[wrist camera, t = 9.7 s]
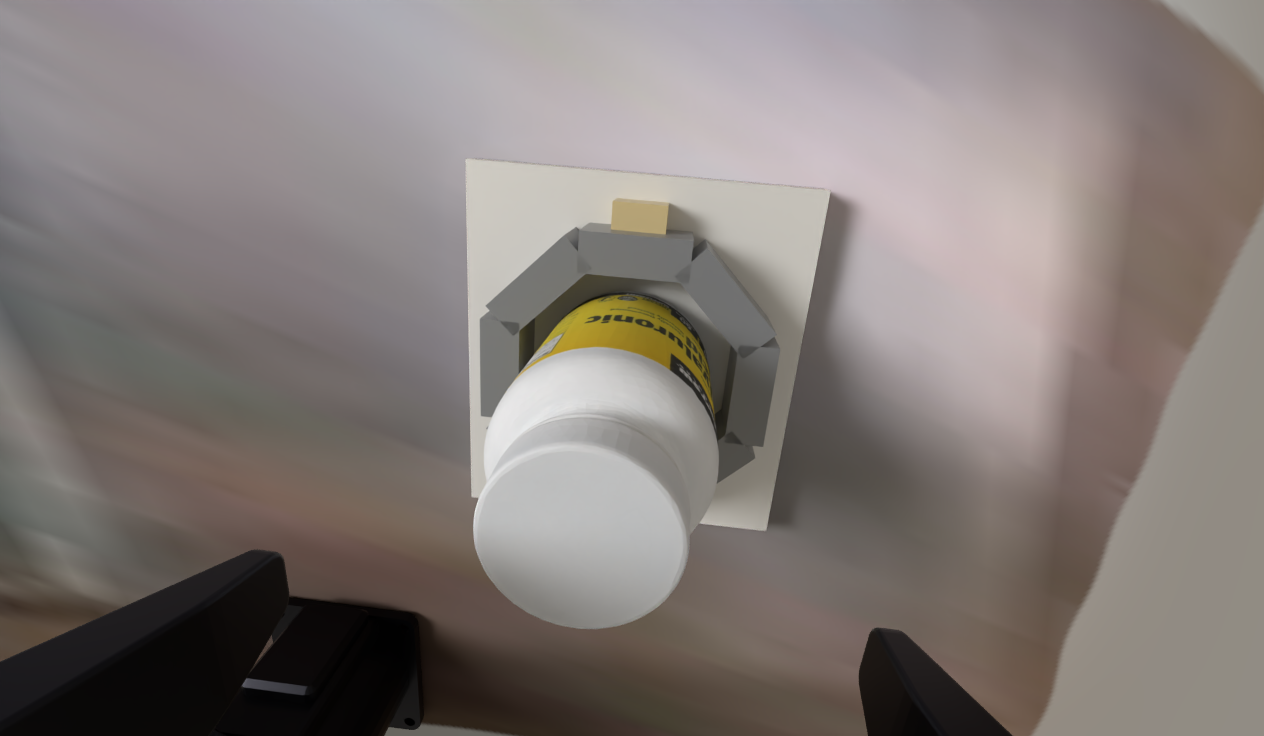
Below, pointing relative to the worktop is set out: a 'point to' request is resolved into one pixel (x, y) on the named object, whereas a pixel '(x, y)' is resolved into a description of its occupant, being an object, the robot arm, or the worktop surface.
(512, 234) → the socket base
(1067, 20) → the worktop surface
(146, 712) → the robot arm
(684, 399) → the supplement bottle
